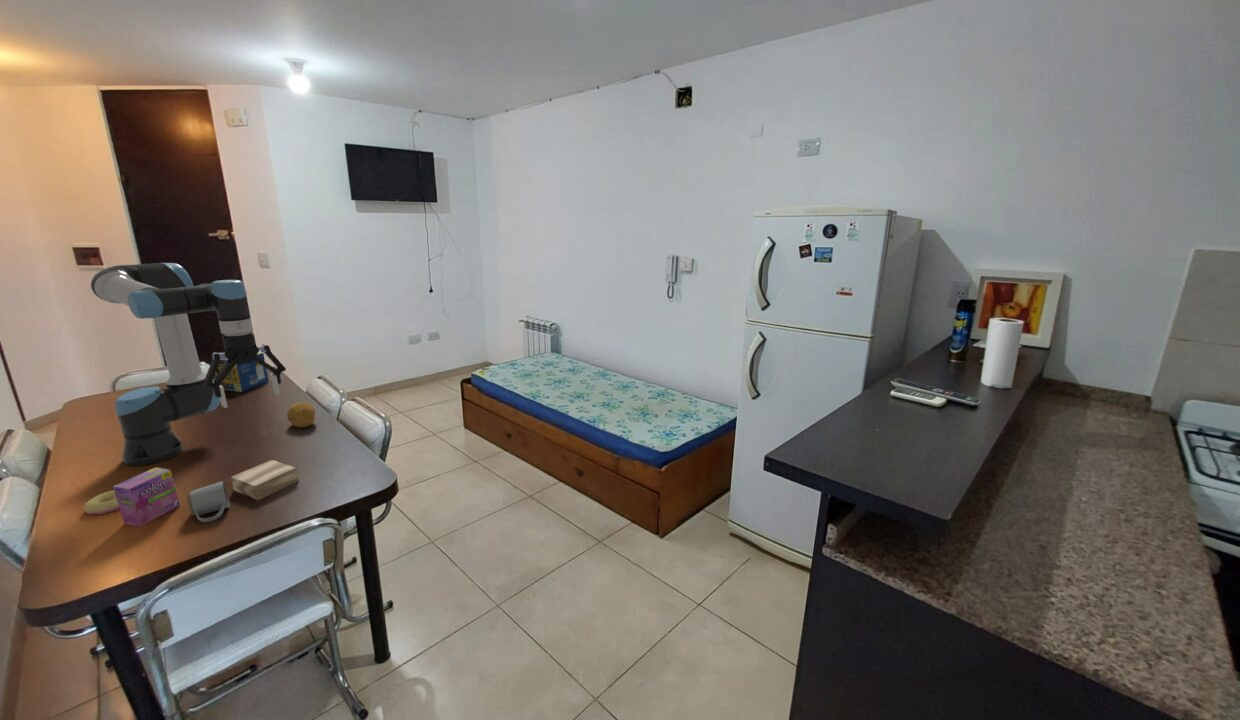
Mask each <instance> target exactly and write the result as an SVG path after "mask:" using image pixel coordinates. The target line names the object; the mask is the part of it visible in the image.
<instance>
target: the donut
mask: <svg viewBox="0 0 1240 720" xmlns="http://www.w3.org/2000/svg"><path fill="white" fill-rule="evenodd" d="M83 510H84V512H86V514H88V515H92V514H93V516H94V515H95V514H98V515H104V514H107V513H111V511H112V512H115V511H117V510H120V509H119V506H118V502H117V499H116V496H115V493H114V489H113V490H110V491H105V492H103V493H100V494H98V495H95V496H94V497H92V498H90V499H88V501H86V502H85V504H84V505H83ZM114 510H115V511H114Z"/></svg>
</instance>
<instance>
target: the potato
mask: <svg viewBox="0 0 1240 720" xmlns="http://www.w3.org/2000/svg"><path fill="white" fill-rule="evenodd" d="M315 411H316V410H315V407H314V405H312V404H310V403H308V402H296V403H293V404H292V405H290V407H289V409H288V410H287V412H286V417H287V420H288V421H289V423H290V424H292V425H293V426H294V427H297V428H302V429H304V428H307V427H309V426H311V425H312V424H313V423H315V420H316V412H315Z"/></svg>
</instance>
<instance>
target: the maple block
mask: <svg viewBox="0 0 1240 720" xmlns="http://www.w3.org/2000/svg"><path fill="white" fill-rule="evenodd" d="M230 480H231V483H232V484H231V485H232V489H233V491H235V492H237V493H239V494H242V495H245V496H246V497H250V498H252V499H255V500H256V501H259V500H262V499H264V498H265V497H266V498H267V496H270V495H272V494H275V493H277V492H278V491H280V490H283V489H285V488H287V487H289V486H291V485H293V484H295V483H297V482H299V477H298V471H297V467H295V466H291V465H289V464H286V463H282V462H279V461H277V460H274V459H271V460H268V461H266V462H263V463H260V464H258V465H256V466H254V467H251V468H249V469H247V470H244V471H242V472H239V473H237V474H234V475H232V476H230Z"/></svg>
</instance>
